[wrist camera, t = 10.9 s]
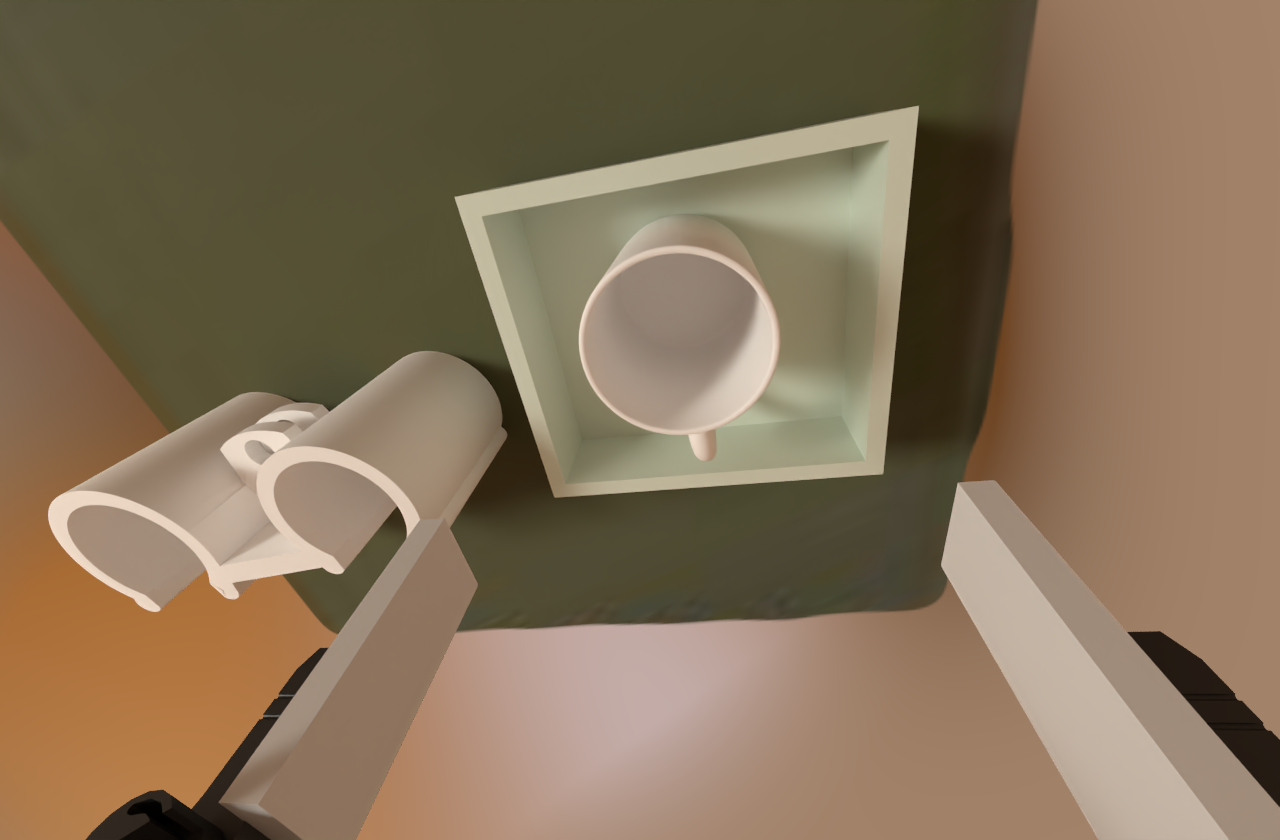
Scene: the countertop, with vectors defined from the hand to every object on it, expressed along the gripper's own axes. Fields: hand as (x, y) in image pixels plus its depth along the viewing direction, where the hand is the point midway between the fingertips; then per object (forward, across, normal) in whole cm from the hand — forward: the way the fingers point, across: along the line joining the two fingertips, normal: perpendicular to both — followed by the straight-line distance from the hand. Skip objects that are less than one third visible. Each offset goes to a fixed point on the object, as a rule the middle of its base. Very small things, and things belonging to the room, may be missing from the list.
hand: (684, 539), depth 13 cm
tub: (+20, 0, 0) cm, 20 cm away
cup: (+19, 0, 0) cm, 19 cm away
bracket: (+20, -27, -6) cm, 34 cm away
